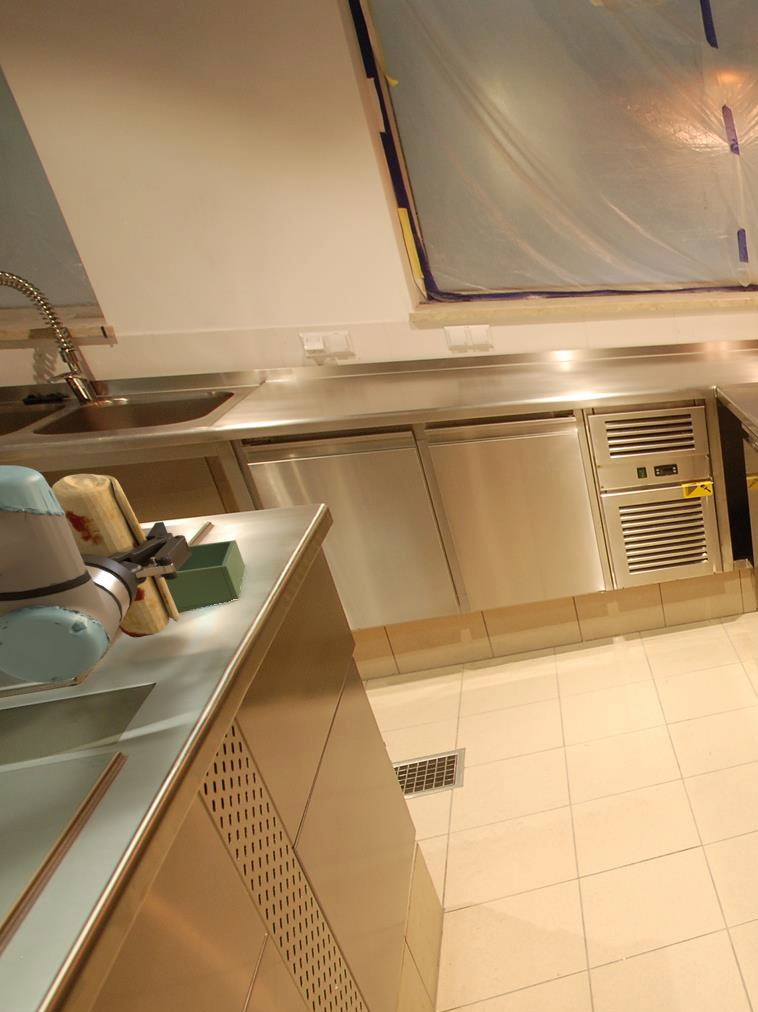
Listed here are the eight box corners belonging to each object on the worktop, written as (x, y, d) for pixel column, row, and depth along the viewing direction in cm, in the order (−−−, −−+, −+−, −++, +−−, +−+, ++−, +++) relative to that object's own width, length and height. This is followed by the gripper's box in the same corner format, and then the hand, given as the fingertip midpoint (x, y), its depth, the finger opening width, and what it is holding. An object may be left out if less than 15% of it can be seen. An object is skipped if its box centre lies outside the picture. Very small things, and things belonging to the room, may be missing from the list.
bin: (145, 617, 114) (129, 579, 112) (161, 586, 124) (147, 550, 122) (239, 602, 120) (226, 566, 117) (248, 574, 130) (235, 539, 127)
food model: (115, 620, 108) (41, 470, 98) (182, 607, 112) (118, 461, 102) (115, 651, 102) (36, 493, 92) (186, 635, 106) (118, 482, 96)
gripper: (-35, 648, 85) (29, 577, 103) (213, 611, 95) (233, 552, 112) (-71, 580, 82) (1, 518, 99) (189, 548, 92) (214, 497, 109)
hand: (124, 536), depth 106 cm, fingers closed on food model, 7 cm apart
